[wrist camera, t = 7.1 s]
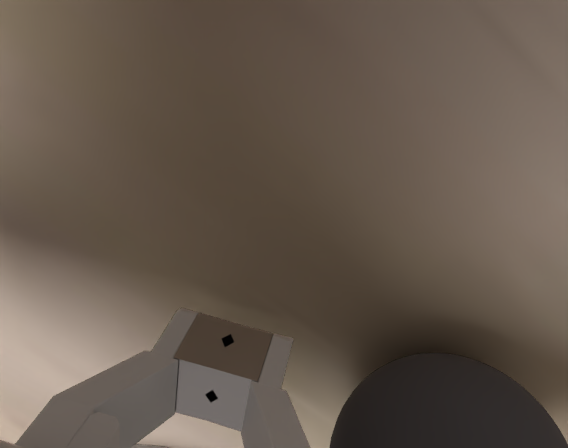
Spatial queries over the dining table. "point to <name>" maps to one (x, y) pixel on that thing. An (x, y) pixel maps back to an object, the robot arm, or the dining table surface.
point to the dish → (147, 446)
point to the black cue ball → (443, 408)
